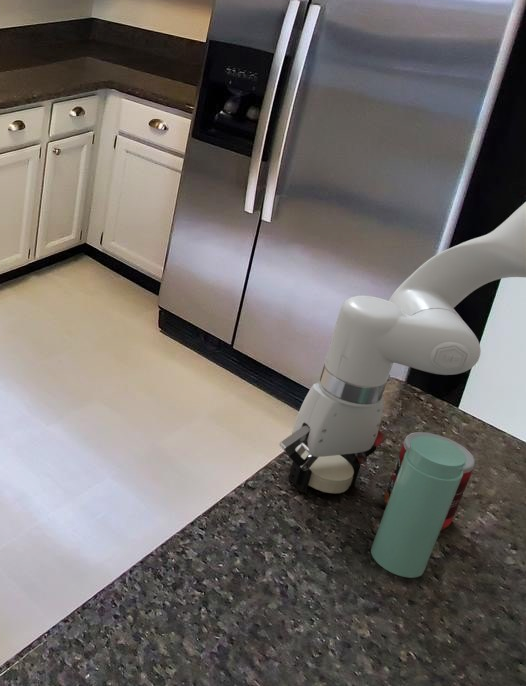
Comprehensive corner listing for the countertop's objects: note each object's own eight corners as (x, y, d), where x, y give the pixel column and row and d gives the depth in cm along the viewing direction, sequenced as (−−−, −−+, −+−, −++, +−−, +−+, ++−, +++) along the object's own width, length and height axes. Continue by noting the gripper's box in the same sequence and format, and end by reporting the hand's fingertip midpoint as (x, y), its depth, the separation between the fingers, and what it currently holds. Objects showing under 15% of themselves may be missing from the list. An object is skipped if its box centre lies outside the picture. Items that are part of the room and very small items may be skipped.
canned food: (382, 485, 116) (404, 424, 112) (448, 505, 112) (473, 443, 108) (382, 518, 110) (404, 456, 106) (451, 541, 107) (478, 477, 102)
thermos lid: (316, 496, 113) (320, 482, 112) (285, 463, 119) (289, 450, 118) (360, 490, 114) (365, 477, 113) (328, 458, 120) (332, 445, 119)
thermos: (409, 543, 106) (451, 436, 99) (433, 580, 101) (479, 469, 93) (362, 540, 107) (400, 432, 99) (383, 576, 101) (425, 465, 94)
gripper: (388, 362, 114) (355, 459, 121) (277, 372, 111) (251, 471, 119) (429, 392, 107) (392, 494, 115) (312, 404, 105) (282, 507, 112)
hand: (320, 481), depth 117 cm, fingers closed on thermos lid, 7 cm apart
